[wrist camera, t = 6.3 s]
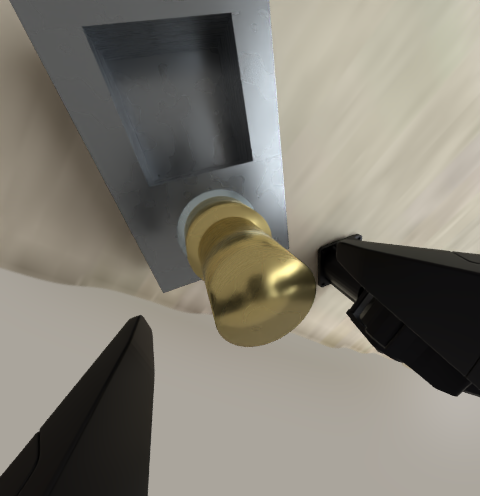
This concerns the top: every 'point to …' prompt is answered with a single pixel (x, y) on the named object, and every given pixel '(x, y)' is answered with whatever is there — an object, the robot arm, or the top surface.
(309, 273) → the brass cap
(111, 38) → the housing
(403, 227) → the top surface
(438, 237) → the top surface
